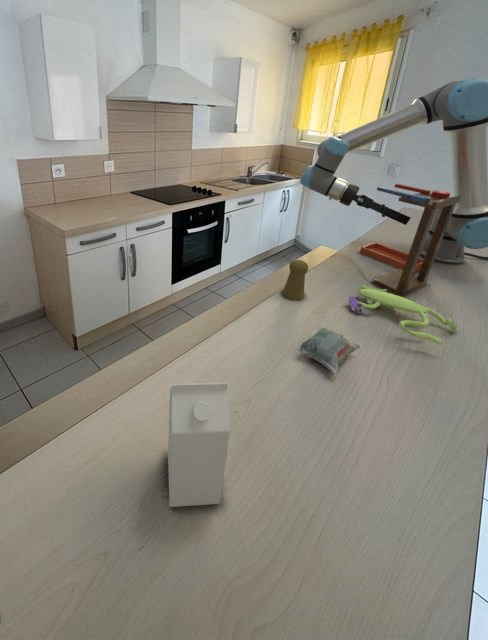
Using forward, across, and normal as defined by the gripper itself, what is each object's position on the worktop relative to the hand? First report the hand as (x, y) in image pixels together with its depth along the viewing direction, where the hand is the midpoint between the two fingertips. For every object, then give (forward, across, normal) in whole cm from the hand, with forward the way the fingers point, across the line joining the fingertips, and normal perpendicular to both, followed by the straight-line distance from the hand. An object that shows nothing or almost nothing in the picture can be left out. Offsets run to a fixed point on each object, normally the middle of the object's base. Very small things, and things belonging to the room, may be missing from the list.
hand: (404, 219), depth 108 cm
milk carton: (-19, +91, -46) cm, 104 cm away
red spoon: (-2, +5, +9) cm, 11 cm away
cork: (-19, +31, -33) cm, 49 cm away
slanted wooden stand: (+8, +7, -19) cm, 22 cm away
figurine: (+7, +29, -25) cm, 39 cm away
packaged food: (-6, +54, -34) cm, 64 cm away
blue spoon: (-7, +15, +6) cm, 17 cm away
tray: (+6, -13, -15) cm, 21 cm away
